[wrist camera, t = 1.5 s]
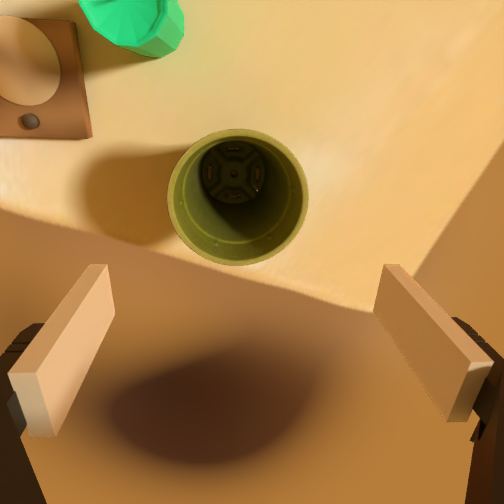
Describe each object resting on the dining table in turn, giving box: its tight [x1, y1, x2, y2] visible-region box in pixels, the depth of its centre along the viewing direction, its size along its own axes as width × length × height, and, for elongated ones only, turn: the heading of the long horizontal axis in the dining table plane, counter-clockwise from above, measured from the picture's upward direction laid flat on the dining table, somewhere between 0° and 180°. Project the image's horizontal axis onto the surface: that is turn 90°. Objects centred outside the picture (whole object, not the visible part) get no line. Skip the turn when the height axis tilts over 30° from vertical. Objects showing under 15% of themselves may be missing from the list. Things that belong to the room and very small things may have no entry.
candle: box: [79, 0, 184, 58], centre depth 27 cm, size 6×6×12 cm
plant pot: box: [167, 129, 309, 266], centre depth 34 cm, size 12×12×11 cm
